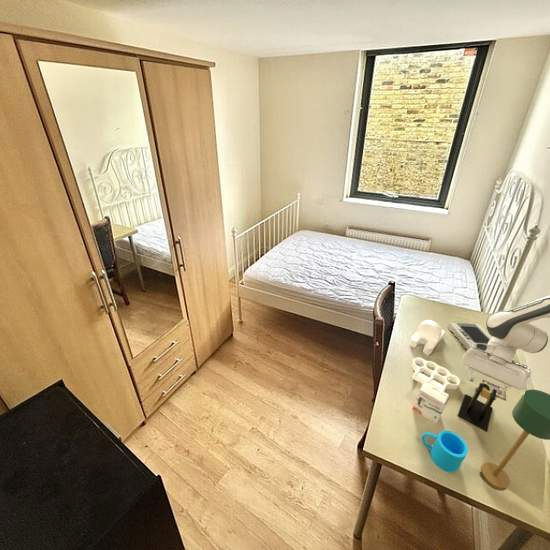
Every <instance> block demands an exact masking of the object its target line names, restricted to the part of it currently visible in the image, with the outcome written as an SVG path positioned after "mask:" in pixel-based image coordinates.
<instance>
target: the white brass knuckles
mask: <svg viewBox="0 0 550 550" xmlns="http://www.w3.org/2000/svg"><path fill="white" fill-rule="evenodd" d="M428 367H430V368H432V369H430V368H428ZM411 369H412V370H413V372H414V373H413V374H412V376H411V379H412V380H413V381H416V382H417V383H418V384H421V385H423V383H424V382H426V383H429V384H430V385H432V386H434V387H436V388H438V389H439V390H441V391H443V392H445V391H446V390H447V389H450V390H457V389H458V388H459V386H460V385H461V379H460V378H459V377H458V376H457V375H454V374H453V373H451V372H450V371H449V369H447V368H446V367H444V366H441V365H439V364H438V363H436V362H434V361H432V360H427V359H423V358H422V357H414V358H413V360H412V363H411ZM440 373H441V374H443V375H441V374H440ZM425 374H426V375H425ZM434 379H436V380H434ZM438 381H439V382H438ZM449 381H452V382H453V383H451V382H449ZM440 382H441V383H440Z"/></svg>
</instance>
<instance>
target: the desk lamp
mask: <svg viewBox="0 0 550 550" xmlns="http://www.w3.org/2000/svg"><path fill="white" fill-rule="evenodd" d="M511 415H512V418H513V420H514V422H515V423H516V424H517V425H518V426H519V428H521V429H522V431H521V433H520V435H519V436H518V437H517V439H516V440H515V442H514V443H513V444H512V446H511V447H510V449H509V450H508V451H507V453H506V454H505V455H504V457H503V458H502V459H501V461H500V462H499V464H498V465H497V464H495V463H493V462H489V461H487V462H483V463H482V465H481V466H480V471H479V475H480V477H481V479H482V480H483V481H484V483H485V484H486V485H487V486H489V487H491V488H492V489H494V490H495V491H496V490H497V491H501V492H502V491H505V490H507V488H508V487H509V486H510V478H509V476H508V475H507V473H506V471H504V469H505V467H506V466H507V464H508V463H509V462H510V461H511V459H512V458H513V456H514V455H515V454H516V452H517V451H518V450H519V448H520V447H521V446H522V444H523V443H524V442H525V441H526V439H527V438H528V436H529V435H530V436H533V437H535V438H537V439H541V440H546V441H550V394H549V393H547V392H545V391H542V390H539V389H527V390H525V391H524V392H523V394H522V395H521V397H520V399H519V400H518V401H517V403H516V405H515V406H514V407H513V409H512V411H511Z"/></svg>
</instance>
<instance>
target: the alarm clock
mask: <svg viewBox="0 0 550 550" xmlns="http://www.w3.org/2000/svg"><path fill="white" fill-rule="evenodd" d="M447 328H448V330H449V329H450V330H451V331H452V332H453V333H454V334H453V333H452V332H451V331H450V330H449V331H450V332H451V333H452V334H453V335H454V337H455V336H456V337H457V338H458V339H459V340H458V339H457V338H456V337H455V338H456V339H457V340H458V341H459V342H460V344H461V345H462V344H463V345H462V346H463V347H464V348H465V349H466V351H467V350H468V349H470V348H471V346H472V344H473V343H482V344H488V342H489V340H490V339H491V338H492V336H491V335H490V334H489V332H488V331H487V330H485V329H484V328H483V326H481V324H478V323H474V324H473V323H467V322H466V323H465V322H459V323H458V322H457V323H456V322H451V321H450V322H449V324H448V326H447Z"/></svg>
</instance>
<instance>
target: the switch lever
mask: <svg viewBox="0 0 550 550" xmlns="http://www.w3.org/2000/svg"><path fill="white" fill-rule="evenodd" d="M490 394H491V392H490V387H489V386H488V385H487V384H483V387H482V391H481V393H480V395H479V396H480V397H482V398H483V399H486V400H487V399H488V398H489V396H490Z"/></svg>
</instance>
